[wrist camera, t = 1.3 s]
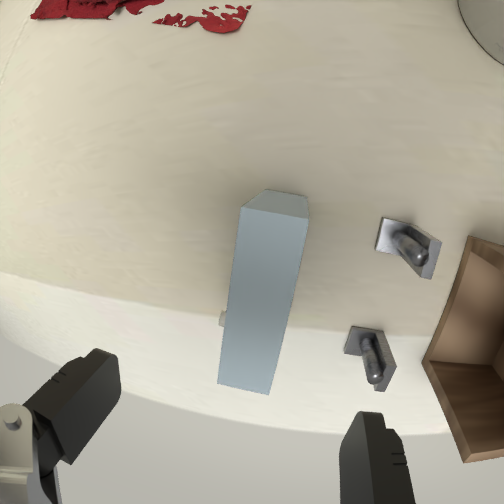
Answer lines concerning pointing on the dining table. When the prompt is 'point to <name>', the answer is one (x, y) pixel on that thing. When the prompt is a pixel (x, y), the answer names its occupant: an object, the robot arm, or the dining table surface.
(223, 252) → the dining table surface
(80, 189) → the dining table surface
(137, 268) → the dining table surface
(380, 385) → the hinge clips
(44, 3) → the plate with food
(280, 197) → the door
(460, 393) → the cabinet
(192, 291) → the dining table surface
